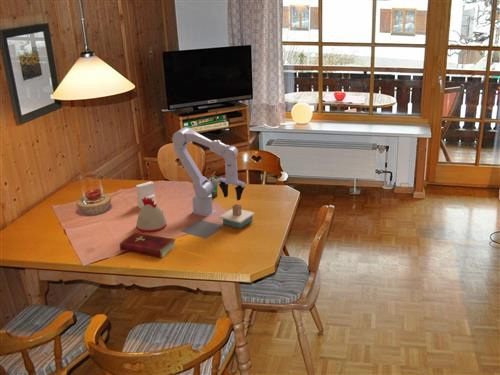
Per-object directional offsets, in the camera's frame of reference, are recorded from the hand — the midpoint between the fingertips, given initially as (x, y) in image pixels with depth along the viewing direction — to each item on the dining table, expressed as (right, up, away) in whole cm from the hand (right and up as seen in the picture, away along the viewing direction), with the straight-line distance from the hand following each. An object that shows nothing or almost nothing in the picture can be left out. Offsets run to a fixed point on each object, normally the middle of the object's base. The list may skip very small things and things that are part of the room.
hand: (232, 198), depth 275 cm
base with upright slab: (-45, -4, +18) cm, 49 cm away
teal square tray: (+3, -12, -5) cm, 13 cm away
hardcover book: (-36, -22, -26) cm, 50 cm away
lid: (+2, -8, -7) cm, 11 cm away
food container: (-11, 0, +28) cm, 30 cm away
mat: (-13, -15, -10) cm, 22 cm away
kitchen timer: (-38, -14, -6) cm, 41 cm away
